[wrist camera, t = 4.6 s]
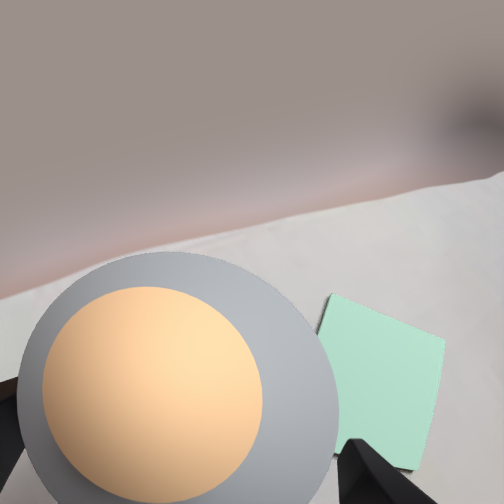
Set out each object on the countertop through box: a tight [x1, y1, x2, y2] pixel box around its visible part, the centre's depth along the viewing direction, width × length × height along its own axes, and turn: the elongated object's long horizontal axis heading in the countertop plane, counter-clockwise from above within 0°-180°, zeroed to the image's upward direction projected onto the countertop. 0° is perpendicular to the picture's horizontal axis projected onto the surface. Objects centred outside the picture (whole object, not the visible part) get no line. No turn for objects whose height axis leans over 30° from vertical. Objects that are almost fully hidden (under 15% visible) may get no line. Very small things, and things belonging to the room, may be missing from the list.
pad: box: [317, 293, 446, 471], centre depth 16 cm, size 9×9×1 cm
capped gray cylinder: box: [17, 252, 339, 504], centre depth 9 cm, size 5×5×14 cm
